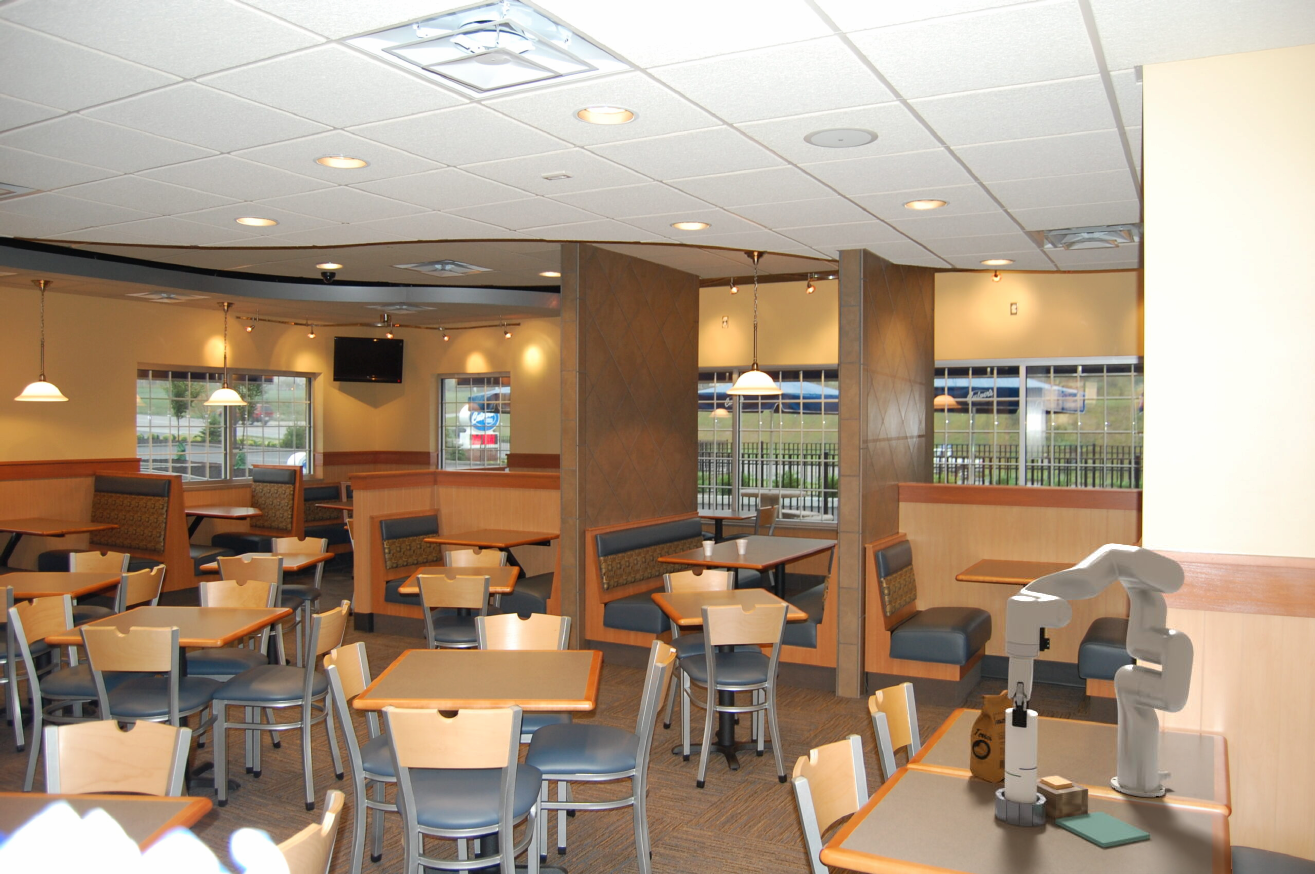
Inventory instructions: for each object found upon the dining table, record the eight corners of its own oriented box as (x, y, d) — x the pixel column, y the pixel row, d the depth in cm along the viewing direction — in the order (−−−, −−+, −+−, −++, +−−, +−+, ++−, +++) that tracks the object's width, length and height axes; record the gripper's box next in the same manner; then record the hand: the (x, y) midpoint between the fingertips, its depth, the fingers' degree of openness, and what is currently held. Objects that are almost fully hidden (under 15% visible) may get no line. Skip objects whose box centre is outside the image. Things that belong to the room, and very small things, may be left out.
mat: (1100, 815, 233) (1100, 811, 233) (1150, 838, 220) (1150, 833, 220) (1055, 823, 228) (1055, 819, 228) (1103, 847, 215) (1103, 842, 215)
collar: (1021, 805, 239) (1022, 785, 239) (1055, 822, 229) (1055, 801, 229) (985, 811, 235) (986, 790, 235) (1018, 829, 225) (1018, 807, 225)
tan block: (1056, 797, 240) (1056, 775, 240) (1072, 805, 236) (1072, 782, 236) (1040, 800, 239) (1040, 778, 239) (1056, 807, 234) (1056, 785, 234)
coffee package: (963, 773, 261) (964, 691, 261) (993, 765, 268) (995, 685, 268) (994, 785, 253) (995, 700, 252) (1024, 776, 259) (1026, 694, 259)
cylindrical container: (1038, 824, 228) (1040, 717, 227) (1006, 821, 229) (1008, 715, 229) (1033, 812, 235) (1034, 708, 234) (1002, 809, 236) (1003, 706, 236)
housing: (1056, 798, 244) (1056, 774, 244) (1087, 813, 234) (1088, 788, 234) (1025, 804, 240) (1025, 779, 240) (1055, 819, 231) (1056, 793, 231)
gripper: (1007, 641, 241) (1005, 710, 241) (1003, 654, 225) (1001, 728, 225) (1040, 644, 238) (1038, 714, 238) (1037, 658, 222) (1036, 733, 222)
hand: (1020, 721), depth 231 cm, fingers open, 9 cm apart
